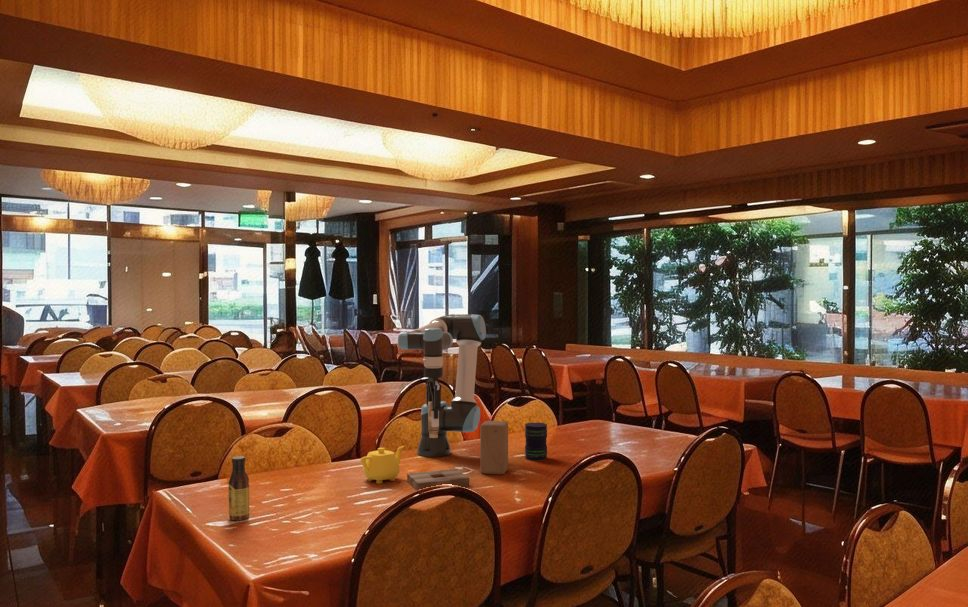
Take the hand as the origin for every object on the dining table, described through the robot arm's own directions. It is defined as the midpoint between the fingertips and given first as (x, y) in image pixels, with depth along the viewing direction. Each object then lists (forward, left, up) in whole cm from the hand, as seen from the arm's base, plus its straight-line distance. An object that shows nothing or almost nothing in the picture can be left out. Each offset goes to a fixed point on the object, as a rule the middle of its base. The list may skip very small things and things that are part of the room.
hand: (433, 425), depth 275 cm
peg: (0, 0, -5) cm, 5 cm away
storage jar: (-12, +51, -20) cm, 56 cm away
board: (+12, -2, -20) cm, 24 cm away
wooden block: (+3, +25, -20) cm, 32 cm away
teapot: (-2, -20, -20) cm, 29 cm away
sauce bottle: (+28, -74, -20) cm, 82 cm away
